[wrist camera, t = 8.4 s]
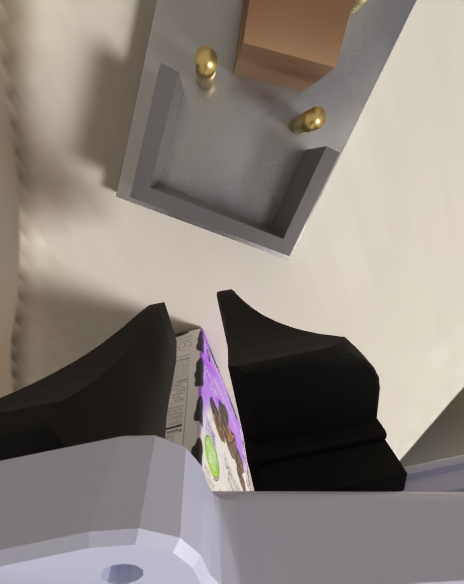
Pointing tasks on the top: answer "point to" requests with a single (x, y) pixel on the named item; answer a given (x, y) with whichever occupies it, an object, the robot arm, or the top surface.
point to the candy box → (205, 415)
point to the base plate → (250, 107)
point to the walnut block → (290, 40)
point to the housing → (151, 192)
